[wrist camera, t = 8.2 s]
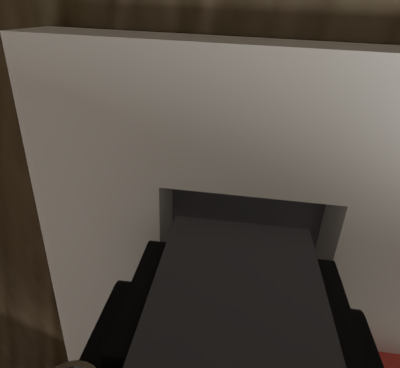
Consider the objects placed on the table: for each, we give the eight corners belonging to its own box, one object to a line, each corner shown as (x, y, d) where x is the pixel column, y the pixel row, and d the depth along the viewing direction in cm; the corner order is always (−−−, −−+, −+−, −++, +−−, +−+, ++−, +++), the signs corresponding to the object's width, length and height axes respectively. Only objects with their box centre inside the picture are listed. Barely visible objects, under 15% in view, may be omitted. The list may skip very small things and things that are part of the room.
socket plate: (516, 51, 10) (632, 71, 7) (378, 368, 16) (406, 450, 13) (47, 26, 11) (-28, 32, 8) (92, 327, 18) (59, 393, 15)
